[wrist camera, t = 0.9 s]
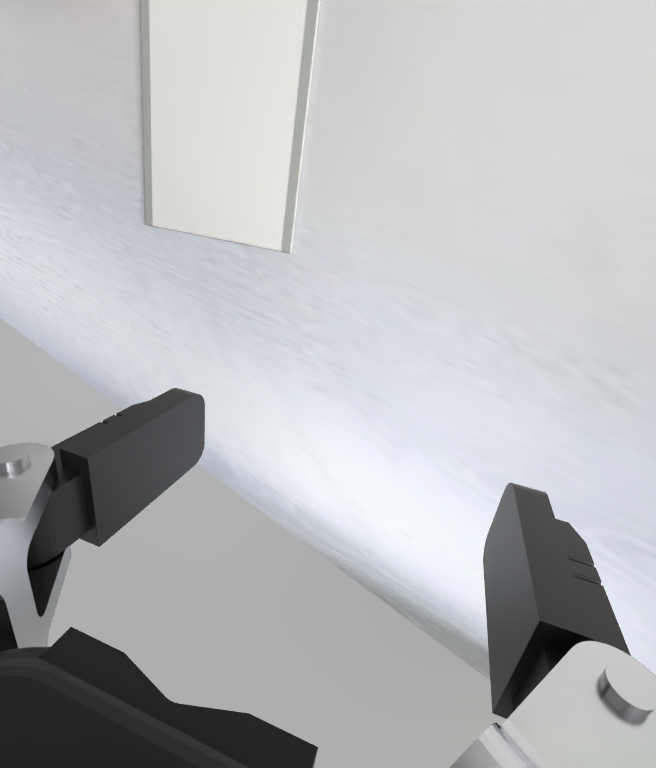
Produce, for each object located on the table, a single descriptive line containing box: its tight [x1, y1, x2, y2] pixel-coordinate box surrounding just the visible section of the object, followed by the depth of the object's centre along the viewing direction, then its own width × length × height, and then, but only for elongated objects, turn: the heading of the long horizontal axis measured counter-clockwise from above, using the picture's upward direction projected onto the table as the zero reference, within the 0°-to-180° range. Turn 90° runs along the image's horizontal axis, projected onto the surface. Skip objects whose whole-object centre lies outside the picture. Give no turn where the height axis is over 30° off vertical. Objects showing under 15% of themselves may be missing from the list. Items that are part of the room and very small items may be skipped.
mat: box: [140, 0, 321, 253], centre depth 34 cm, size 24×16×1 cm, turn 170°
